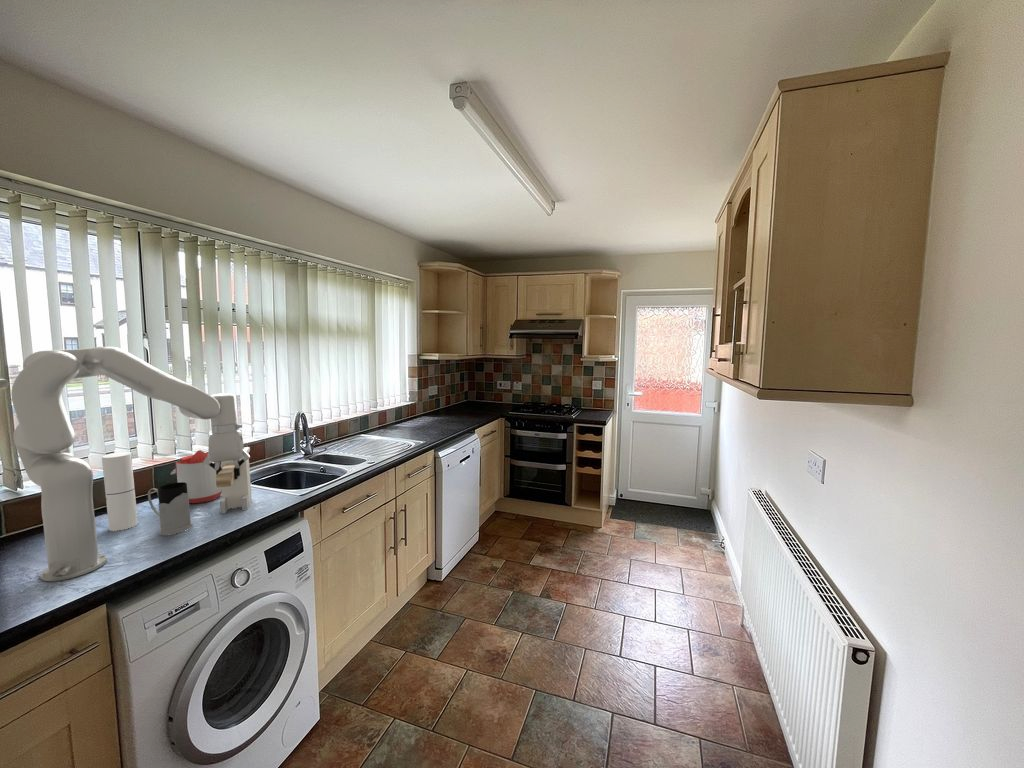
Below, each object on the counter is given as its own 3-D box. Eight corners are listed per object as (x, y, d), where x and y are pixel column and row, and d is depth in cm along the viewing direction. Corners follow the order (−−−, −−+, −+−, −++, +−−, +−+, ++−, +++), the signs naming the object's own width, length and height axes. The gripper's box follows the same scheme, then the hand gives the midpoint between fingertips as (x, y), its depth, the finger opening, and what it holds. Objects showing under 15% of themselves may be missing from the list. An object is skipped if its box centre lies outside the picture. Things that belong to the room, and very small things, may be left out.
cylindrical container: (120, 532, 137) (112, 458, 135) (103, 530, 139) (95, 457, 136) (143, 523, 144) (136, 452, 142) (127, 521, 146) (120, 451, 143)
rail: (230, 486, 141) (229, 474, 141) (216, 487, 140) (215, 476, 139) (240, 472, 157) (239, 462, 156) (227, 473, 155) (226, 463, 155)
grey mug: (174, 536, 134) (170, 491, 133) (138, 533, 136) (133, 488, 135) (199, 524, 143) (195, 482, 141) (164, 522, 145) (160, 480, 144)
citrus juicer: (179, 496, 170) (175, 448, 168) (230, 489, 177) (226, 443, 175) (167, 509, 156) (162, 457, 154) (222, 502, 163) (218, 452, 161)
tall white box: (248, 509, 155) (244, 453, 153) (218, 513, 152) (214, 456, 150) (253, 500, 165) (249, 446, 163) (225, 503, 161) (221, 449, 159)
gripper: (254, 424, 153) (257, 473, 155) (198, 429, 146) (203, 479, 148) (250, 428, 146) (254, 479, 148) (192, 433, 139) (197, 486, 141)
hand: (228, 478), depth 148 cm, fingers closed on rail, 4 cm apart
